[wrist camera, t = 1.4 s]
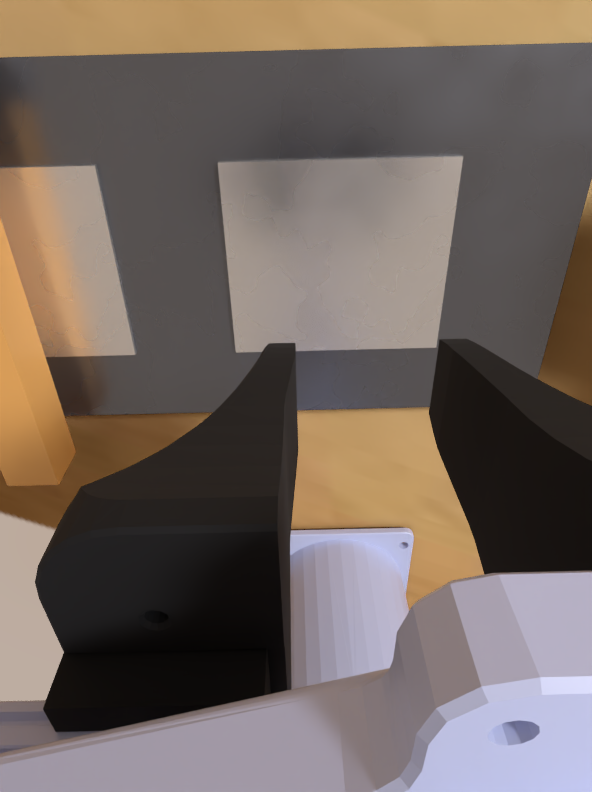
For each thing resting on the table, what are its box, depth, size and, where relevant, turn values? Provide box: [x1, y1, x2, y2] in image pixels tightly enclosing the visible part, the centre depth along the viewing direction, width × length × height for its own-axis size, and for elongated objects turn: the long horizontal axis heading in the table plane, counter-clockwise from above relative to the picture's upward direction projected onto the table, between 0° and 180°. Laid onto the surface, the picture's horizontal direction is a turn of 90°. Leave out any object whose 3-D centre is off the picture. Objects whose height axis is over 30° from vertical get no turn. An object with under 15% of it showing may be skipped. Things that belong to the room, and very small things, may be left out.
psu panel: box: [0, 43, 592, 416], centre depth 19 cm, size 13×24×2 cm, turn 91°
